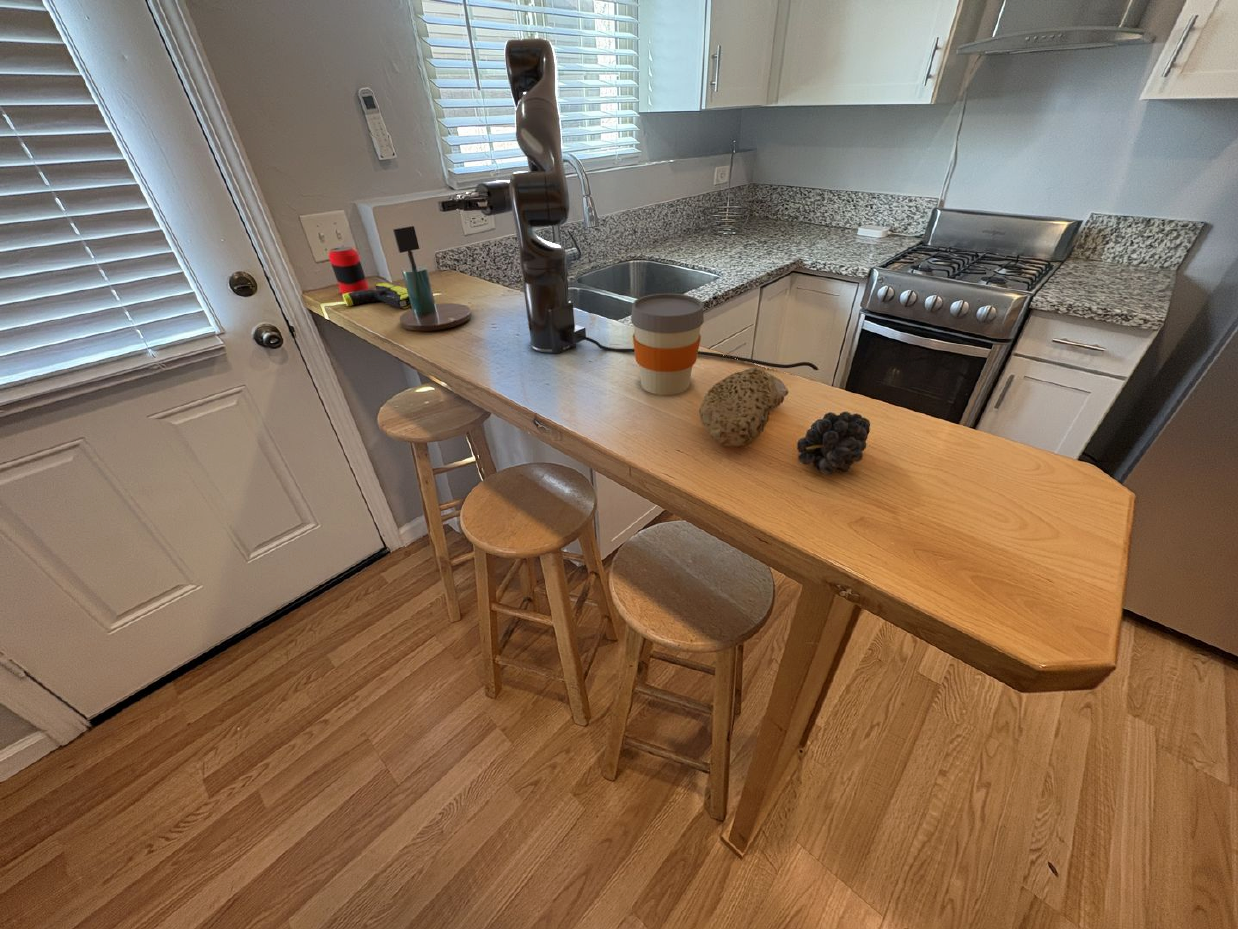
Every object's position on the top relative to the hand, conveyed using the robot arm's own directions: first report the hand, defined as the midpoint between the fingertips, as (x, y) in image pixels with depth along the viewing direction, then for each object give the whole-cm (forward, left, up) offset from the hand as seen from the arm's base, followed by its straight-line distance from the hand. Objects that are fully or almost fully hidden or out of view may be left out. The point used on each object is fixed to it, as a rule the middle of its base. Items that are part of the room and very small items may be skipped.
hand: (440, 206), depth 117 cm
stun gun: (+21, +12, -24) cm, 34 cm away
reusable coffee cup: (-70, +3, -24) cm, 74 cm away
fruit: (-104, +7, -24) cm, 107 cm away
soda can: (+38, +11, -24) cm, 46 cm away
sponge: (-88, +7, -24) cm, 92 cm away
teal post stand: (-4, +10, -24) cm, 27 cm away
